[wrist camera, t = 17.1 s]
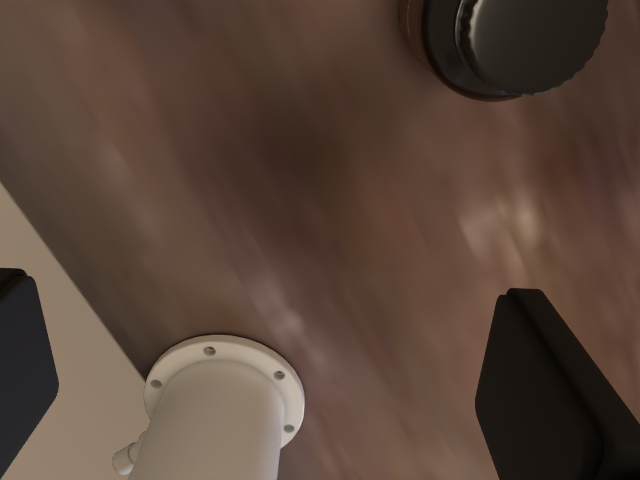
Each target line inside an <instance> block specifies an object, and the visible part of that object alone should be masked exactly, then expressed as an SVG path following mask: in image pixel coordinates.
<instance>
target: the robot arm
mask: <svg viewBox="0 0 640 480" xmlns="http://www.w3.org/2000/svg"><path fill="white" fill-rule="evenodd" d="M58 386H59V382H58V377H57V372H56V368H55V364H54V359H53V355H52V351H51V346H50V342H49V338H48V334H47V329H46V325H45V321H44V317H43V312H42V308H41V304H40V299H39V295H38V291H37V286H36V283H35V280H34V279H33V278H32V277H31V276H27V274H26V272H25V271H24V270H22V269H15V268H0V479H1V478H2V476H3V475H4V473H5V472H6V470H7V469H8V467H9V466H10V465H11V463H12V461H13V460H14V459H15V457H16V456H17V454H18V453H19V451H20V450H21V448H22V447H23V445H24V444H25V442H26V441H27V440H28V438H29V436H30V435H31V434H32V432H33V431H34V429H35V428H36V426H37V425H38V423H39V422H40V420H41V419H42V418H43V416H44V414H45V413H46V411H47V410H48V409H49V407H50V406H51V404H52V403H53V401H54V400H55V398H56V396H57V393H58V388H59V387H58ZM144 403H145V407H146V412H147V414H148V416H149V418H150V420H151V421H150V424H149V426H148V429H147V431H145V432H143V433H142V434H141V436H140V437H139V441H137V442H136V443H132V444H130V445H128V446H127V447H125V448H123V449H122V450H120V451H119V452H117V453H115V454H114V456H113V459H112V465H113V467H114V470H115V471H116V472H117V473H118V474H120V475H126V474H129V473H130V472H131V473H130V475H129V478H128V480H277V474H278V465H279V455H280V448H282V447H284V446H285V445H286V444H287V443H288V442H289V441H290V440H291V439H292V438H293V437H294V436H295V434H296V433H297V431H298V430H299V428H300V425H301V423H302V420H303V416H304V406H305V399H304V390H303V387H302V384H301V381H300V379H299V377H298V375H297V374H296V372H295V370H294V369H293V368H292V367H291V366H290V364H289V363H288V362H287V361H286V360H285V359H284V358H282V357H281V356H280V355H279V354H277V353H276V352H275V351H273V350H271V349H270V348H268V347H266V346H264V345H262V344H260V343H257V342H255V341H252V340H249V339H246V338H241V337H236V336H231V335H207V336H198V337H195V338H192V339H188V340H185V341H182V342H180V343H179V344H177V345H175V346H173V347H171V348H170V349H168V350H167V351H166V352H165V353H163V354H162V355H161V356H160V357H159V359H158V360H157V361H156V362H155V364H154V365H153V367H152V369H151V371H150V373H149V375H148V377H147V380H146V384H145V387H144ZM475 409H476V415H477V418H478V421H479V424H480V426H481V429H482V432H483V435H484V438H485V440H486V443H487V446H488V449H489V452H490V454H491V457H492V460H493V463H494V465H495V468H496V471H497V474H498V477H499V479H500V480H640V424H639V423H638V421H637V420H636V418H635V417H634V416H633V414H632V413H631V412H630V410H629V409H628V408H627V406H626V405H625V403H624V402H623V401H622V399H621V398H620V397H619V395H618V394H617V393H616V391H615V390H614V389H613V387H612V386H611V384H610V383H609V382H608V380H607V379H606V378H605V376H604V375H603V374H602V372H601V371H600V369H599V368H598V367H597V365H596V364H595V363H594V361H593V360H592V359H591V357H590V356H589V354H588V353H587V352H586V350H585V349H584V348H583V346H582V345H581V344H580V342H579V341H578V339H577V338H576V337H575V335H574V334H573V333H572V331H571V330H570V329H569V327H568V326H567V324H566V323H565V322H564V320H563V319H562V318H561V316H560V315H559V314H558V312H557V311H556V309H555V308H554V307H553V305H552V304H551V303H550V301H549V300H548V299H547V297H546V296H545V294H544V293H543V292H542V291H541V290H539V289H521V288H510V289H509V290H508V291H507V293H506V295H500V296H499V297H498V298H497V302H496V306H495V311H494V315H493V320H492V324H491V329H490V333H489V338H488V342H487V347H486V352H485V356H484V361H483V365H482V370H481V374H480V379H479V384H478V388H477V393H476V398H475Z"/></svg>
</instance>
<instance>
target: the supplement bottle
mask: <svg viewBox="0 0 640 480" xmlns="http://www.w3.org/2000/svg"><path fill="white" fill-rule="evenodd" d="M607 4H608V0H400V1H399V23H400V27H401V31H402V34H403V37H404V39H405V42H406V43H407V45H408V47H409V48H410V50H411V51H412V53H413V54H414V55H415V56H416V57H417V58H418V59H419V60H420V61H421V62H422V63H423V64H424V65H425V66H426V67H427V68H428V69H429V70H430V71H431V72H432V73H433V74H434V75H435V76H436V77H437V78H438V79H439V80H440V81H441V82H442V83H443V84H444V85H446V86H447V87H448V88H450V89H451V90H453V91H454V92H456V93H458V94H460V95H462V96H464V97H467V98H470V99H473V100H478V101H485V102H499V101H506V100H512V99H515V98H519V97H521V96H524V95H527V94H528V95H535V94H537V93H539V92H548V91H549V90H550V89H552V88H556V87H559V86H561V85H562V84H563V83H564V82H565V81H567V80H570V79H572V77H573V76H574V74H575V73H576V72H578V71H580V70H581V69H583V67H584V65H585V63H586V62H587V61H588V60H589V59H590V58H591V57H592V56H593V52H594V50H595V49H596V48H597V46H598V45H599V44H600V37H601V35H602V34H603V32H604V31H605V21H606V19H607V17H608V12H607V9H606V7H607Z"/></svg>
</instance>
